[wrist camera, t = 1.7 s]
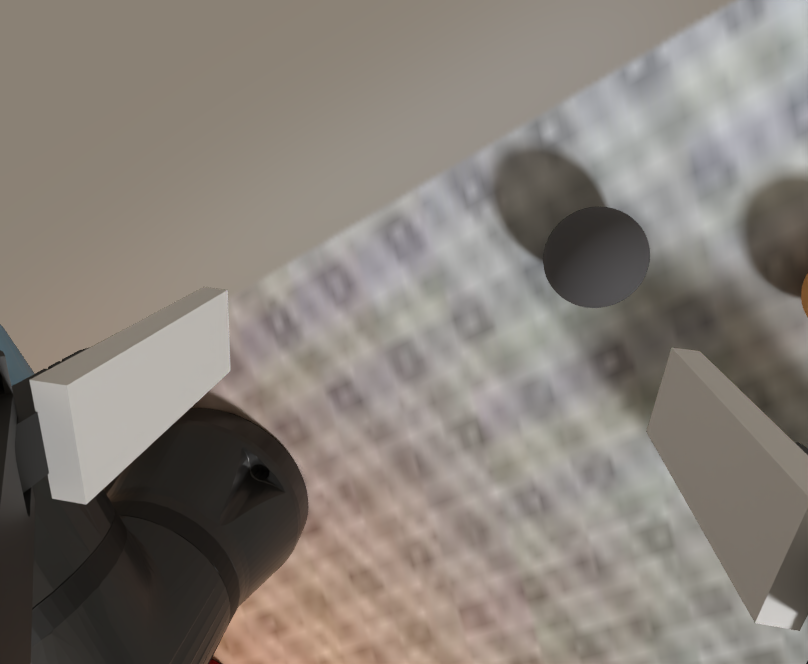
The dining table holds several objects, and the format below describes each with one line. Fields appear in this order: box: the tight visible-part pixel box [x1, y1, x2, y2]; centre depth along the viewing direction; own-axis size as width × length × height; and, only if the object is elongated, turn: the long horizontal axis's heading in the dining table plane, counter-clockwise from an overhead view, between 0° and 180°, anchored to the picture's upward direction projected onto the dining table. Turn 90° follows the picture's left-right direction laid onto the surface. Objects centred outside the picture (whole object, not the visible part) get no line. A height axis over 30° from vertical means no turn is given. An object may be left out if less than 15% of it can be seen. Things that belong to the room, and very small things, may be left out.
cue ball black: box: [543, 207, 650, 308], centre depth 29 cm, size 6×6×6 cm
